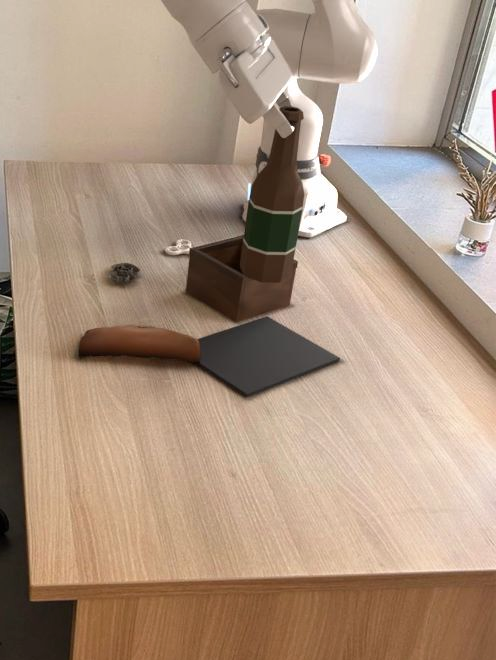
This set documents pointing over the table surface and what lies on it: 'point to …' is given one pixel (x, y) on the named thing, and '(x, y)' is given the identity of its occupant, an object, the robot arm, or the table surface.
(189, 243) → the fidget spinner
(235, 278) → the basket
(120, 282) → the corroded twin loop
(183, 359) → the sunglasses case
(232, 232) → the table surface
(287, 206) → the beer bottle
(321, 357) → the mat
